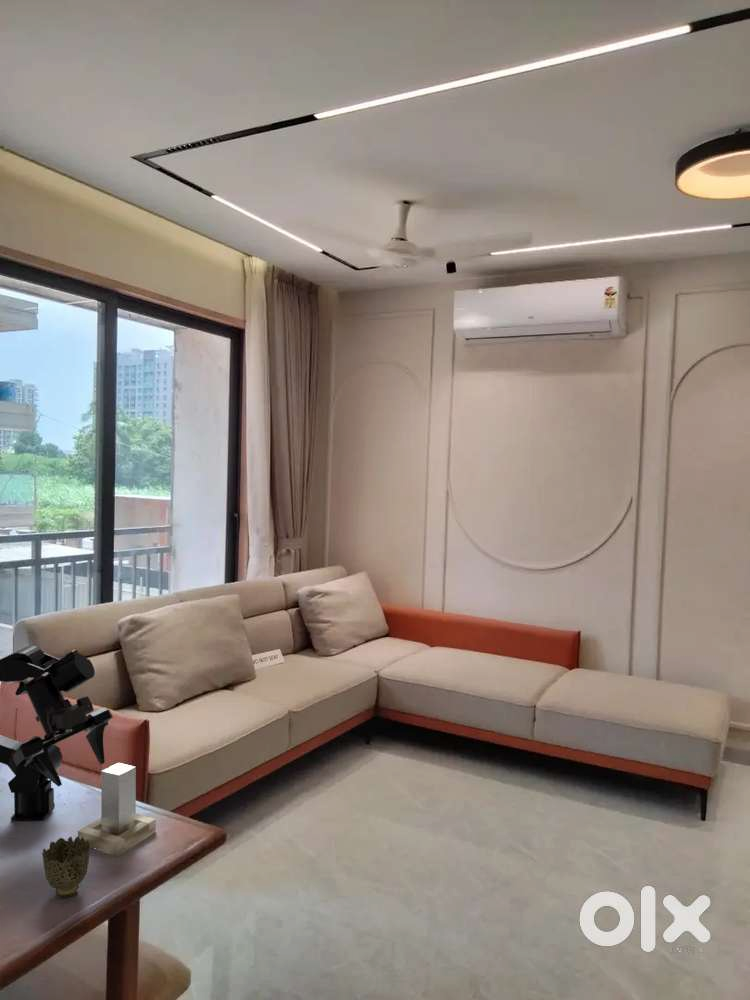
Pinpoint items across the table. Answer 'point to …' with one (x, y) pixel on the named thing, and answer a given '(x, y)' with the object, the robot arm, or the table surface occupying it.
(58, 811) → the table surface
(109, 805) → the steel bar
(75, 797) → the table surface
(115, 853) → the socket block
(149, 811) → the table surface
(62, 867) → the cup
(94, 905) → the table surface
